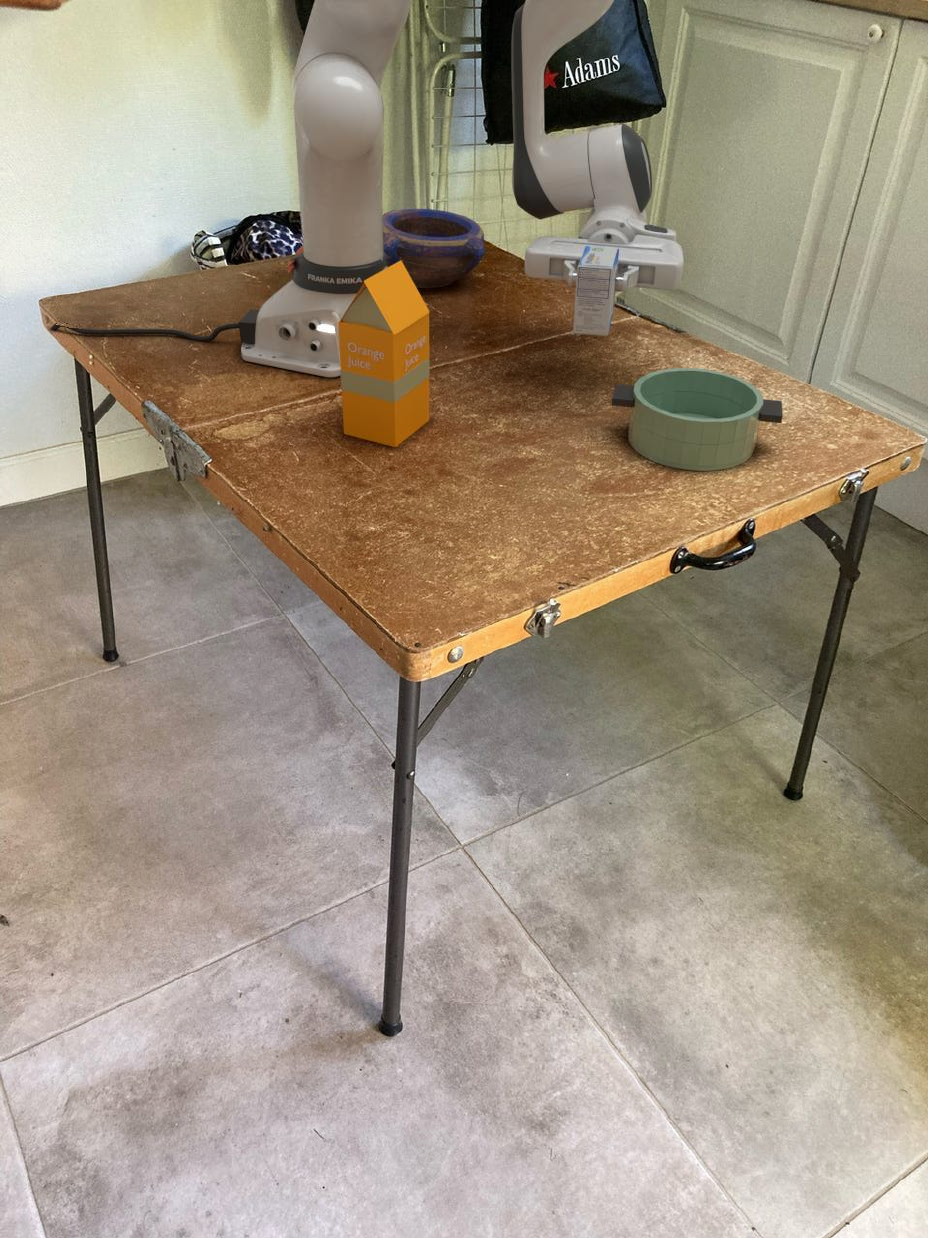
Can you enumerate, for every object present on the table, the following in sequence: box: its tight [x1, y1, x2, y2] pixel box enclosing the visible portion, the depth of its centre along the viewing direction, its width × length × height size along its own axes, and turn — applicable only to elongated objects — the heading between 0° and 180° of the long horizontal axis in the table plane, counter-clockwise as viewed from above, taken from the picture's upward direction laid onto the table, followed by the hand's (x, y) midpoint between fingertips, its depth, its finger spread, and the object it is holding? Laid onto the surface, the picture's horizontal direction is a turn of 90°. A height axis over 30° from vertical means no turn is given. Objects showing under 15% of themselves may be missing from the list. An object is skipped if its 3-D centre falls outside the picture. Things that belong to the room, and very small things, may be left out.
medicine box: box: [572, 246, 619, 337], centre depth 132 cm, size 8×4×9 cm, turn 169°
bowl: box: [383, 208, 486, 289], centre depth 179 cm, size 18×18×10 cm
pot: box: [627, 367, 764, 472], centre depth 132 cm, size 16×16×6 cm
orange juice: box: [338, 261, 431, 448], centre depth 130 cm, size 8×9×20 cm
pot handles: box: [611, 383, 784, 424], centre depth 131 cm, size 20×4×1 cm, turn 78°
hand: (597, 283), depth 132 cm, fingers closed on medicine box, 4 cm apart
